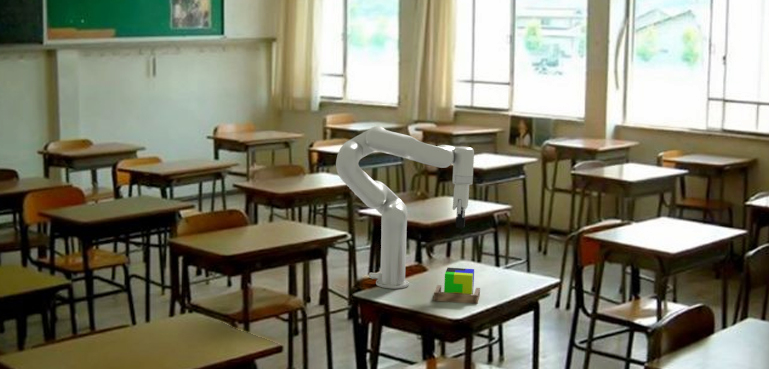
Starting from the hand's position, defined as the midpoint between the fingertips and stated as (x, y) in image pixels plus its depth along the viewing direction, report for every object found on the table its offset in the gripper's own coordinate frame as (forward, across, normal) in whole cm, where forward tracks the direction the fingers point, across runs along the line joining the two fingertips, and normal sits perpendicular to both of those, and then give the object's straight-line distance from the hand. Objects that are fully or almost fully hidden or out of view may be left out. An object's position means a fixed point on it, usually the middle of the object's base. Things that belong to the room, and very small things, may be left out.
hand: (460, 227), depth 405 cm
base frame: (+24, +16, +2) cm, 28 cm away
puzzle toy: (+24, +14, +2) cm, 28 cm away
